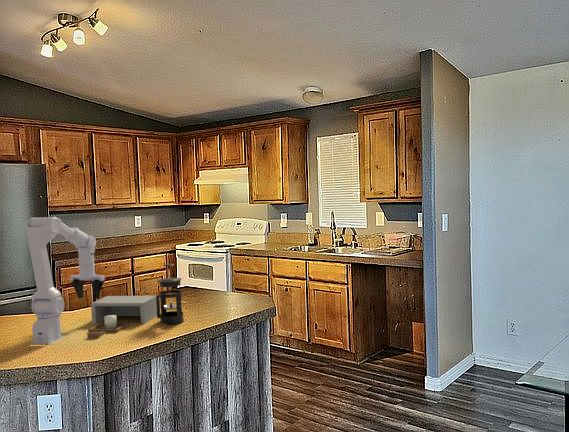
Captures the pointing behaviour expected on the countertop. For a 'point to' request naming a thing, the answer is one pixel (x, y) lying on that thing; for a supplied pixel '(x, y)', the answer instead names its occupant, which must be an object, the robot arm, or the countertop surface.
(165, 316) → the french press
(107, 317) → the cream rounded block
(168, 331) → the countertop surface
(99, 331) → the tray
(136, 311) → the large grey box
